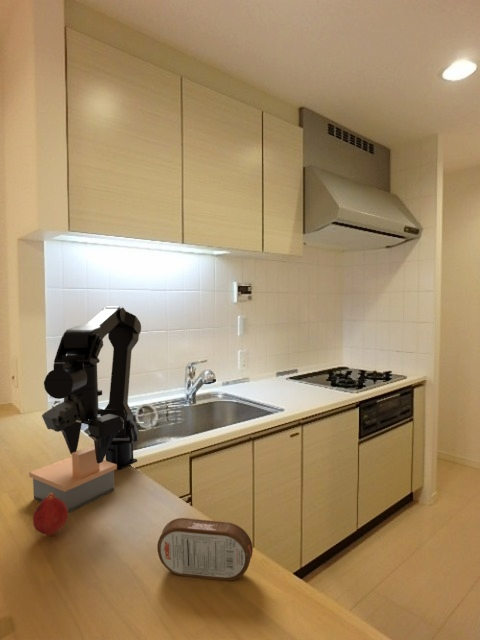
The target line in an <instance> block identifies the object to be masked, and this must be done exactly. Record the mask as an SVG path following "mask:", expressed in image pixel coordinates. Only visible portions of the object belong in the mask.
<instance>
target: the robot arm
mask: <svg viewBox="0 0 480 640" xmlns="http://www.w3.org/2000/svg"><path fill="white" fill-rule="evenodd" d="M141 332H142V324H141V322H140V320H139V319H138V317H137V316H136V315H135V314H132V313H131V312H129V311H127V310H126V309H125V307H123V306H120V305H119V306H115V305H114V306H111V305H110V306H105V307H103V308H102V309H101V311H100V312H99V313H97V315H96V316H94V317H92V319H90V320H89V321H88V322H86V324H82V325H78V326H73V327H70V328H69V329H66V330H65V331H64V332H63V334H62V336H61V338H60V342H59V345H58V348H57V351H56V354H55V358H54V360H53V369H52V370H51V371H49V372H48V373H47V374H46V376H45V378H44V381H43V386H44V390H45V392H46V394H47V395H48V396H49V397H51V398H53V399H57V400H61V399H63V401H62V402H60V403H57V404H56V405H55V406H53V407H52V408H50V409H48V410H47V411H45V412H43V414H42V415H41V418H42V420H43V421H44V424H45V426H46V429H47V430H52V431H54V432H58V433H59V432H61V434H62V436H63V438H64V441H65V444H66V446H67V448H68V450H69V453H70V455H72V453H73V452H76V451H78V446H79V441H80V436H81V430H82V425H87V429H88V431H89V433H90V434H88V437H89V438H90V439H91V440H92V441H93V442H94V443H93V446H95V454H96V460H97V463H98V464H99V463H101V462H103V460H104V459H105V461H108V462H111V463H114V464H117V469H116V470H117V471H118V470H122V469H124V468H127V467H128V466H131V465H133V464H135V463H137V462H138V459H137V458H134V443H135V442H138V441H139V428H138V427H137V425H136V423H135V421H134V413H133V411H132V410H131V407H130V406H129V404H128V402H129V391H130V376H131V362H132V351H133V349H134V348H135V346H136V345H137V343H138V342H139V339H140V337H139V336H140V334H141ZM107 335H108V336H107ZM106 336H107V339H108V340H109V343H111V347H112V348H113V351H112V352H113V353H112V361H111V362H112V365H111V376H110V384H109V385H110V388H109V396H108V397H109V399H108V404H107V405H106V407H105V408H104V409H103V408H100V407H99V397H100V396H103V390H102V389H101V390H100V389H99V388H98V387H99V386H98V385H99V382H98V381H99V380H98V364H99V363H100V361H101V360H100V358H99V355H100V352H101V350H102V348H103V347H104V338H105V337H106Z"/></svg>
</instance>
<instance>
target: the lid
mask: <svg viewBox="0 0 480 640" xmlns="http://www.w3.org/2000/svg"><path fill="white" fill-rule="evenodd" d="M113 470H114V471H115V470H118V469H117V464H114V463H111V462H108V461H106V459H105V460H104V459H103V462H101V463H99V464H98V463H97V460H96V454H95V445H90V446H87V447H85V448H84V447H83V448H82V449H79V450H77V451H76V452H73V453H72V454H71V456H70V457H67V458H65V459H62V460H60V461H57V462H54V463H52V464H48V465H45V466H43V467H40V468H37V469H34V470H32V471H30V472H29V473H28V475H29V477H30V478H31V479H32V480H33V479H36V480H38V481H40V482H43V483H45V484H47V485H50V486H52V487H54V488H57V489H59V490H62V491H64V492H66V491H68V490H70V489H72V488H75V487H77V486H79V485H81V484H84V483H86V482H88V481H90V480H93V479H95V478H97V477H99V476H102V475H104V474H106V473H108V472H111V471H113Z"/></svg>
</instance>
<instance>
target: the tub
mask: <svg viewBox="0 0 480 640" xmlns="http://www.w3.org/2000/svg"><path fill="white" fill-rule="evenodd" d="M32 482H33V483H32V485H33V488H32V489H33V499H34V500H35V501H38V502H40V503H41V502H42V501H43V500H44V499H45V498H46V497H47V496H48V495H49V494H50V493H54V497H56V498H59V499H60V500H62V501H63V502H64V503H65V504H66V506H67V510H68V514H70V513H72V512H74V511H76V510H78V509H79V508H81V507H84V506H86V505H88V504H91V503H92V502H94V501H96V500H98V499H100V498H103V497H104V496H106V495H109V494H110V493H112V492H114V491H115V470H113V471H111V472H108V473H106V474H104V475H102V476H99V477H97V478H95V479H93V480H90V481H88V482H86V483H84V484H81V485H79V486H77V487H75V488H72V489H70V490H68V491H66V492H64V491H62V490H59V489H57V488H54V487H52V486H50V485H47V484H45V483H43V482H40V481H38V480H36V479H33V478H32Z"/></svg>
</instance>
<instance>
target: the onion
mask: <svg viewBox="0 0 480 640" xmlns="http://www.w3.org/2000/svg"><path fill="white" fill-rule="evenodd" d="M68 516H69V513H68V510H67V506H66V504H65V503H64V502H63V501H62V500H60V499H59V498H56V497H54V493H50V494H49V495H48V496H47V497H46V498H45V499H44V500H43V501H42V502H40V503H39V504H38V505H37V506H36V508H35V510H34V512H33V516H32V517H33V518H32V524H33V527H34V529H35V530H36V532H39V533H40V534H42V535H45V536H48V537H53V536H55V535H56V534H57V533H58V532H59V531H60V530H61V529H63V527H64V525H65V524H66V523H67V520H68V519H69V517H68Z"/></svg>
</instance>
